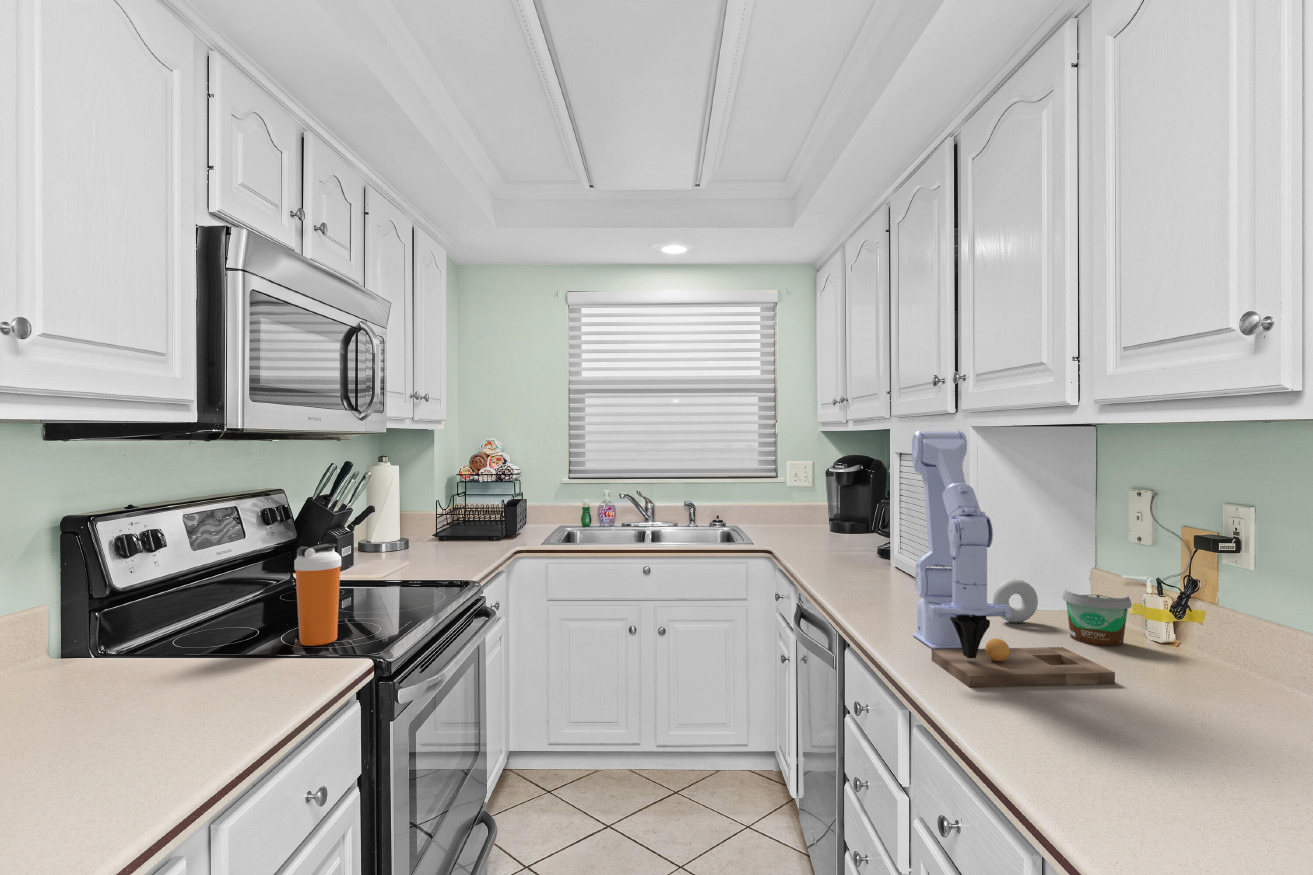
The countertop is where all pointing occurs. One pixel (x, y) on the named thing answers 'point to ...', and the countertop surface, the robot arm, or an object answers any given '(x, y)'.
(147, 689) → the countertop surface
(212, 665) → the countertop surface
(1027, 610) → the donut
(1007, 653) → the ball
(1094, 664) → the board
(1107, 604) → the food container
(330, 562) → the shaker bottle
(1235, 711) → the countertop surface
